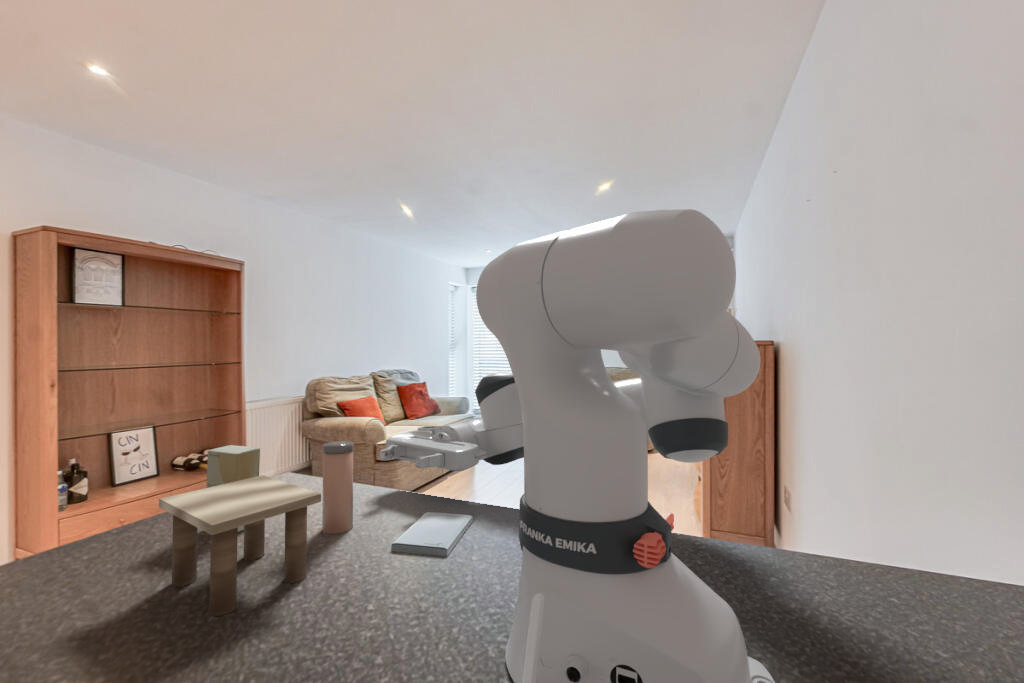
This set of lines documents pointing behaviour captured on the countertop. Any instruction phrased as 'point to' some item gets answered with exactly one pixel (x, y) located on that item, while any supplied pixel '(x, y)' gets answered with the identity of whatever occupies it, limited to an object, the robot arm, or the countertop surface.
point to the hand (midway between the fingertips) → (399, 459)
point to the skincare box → (232, 465)
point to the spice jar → (337, 487)
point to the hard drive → (433, 534)
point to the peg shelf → (221, 519)
